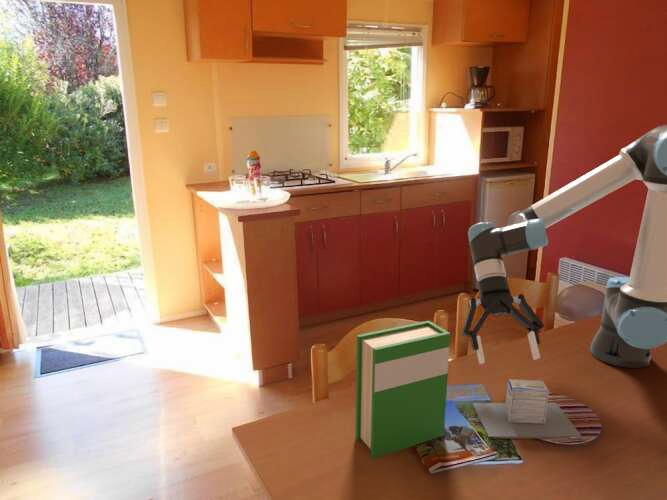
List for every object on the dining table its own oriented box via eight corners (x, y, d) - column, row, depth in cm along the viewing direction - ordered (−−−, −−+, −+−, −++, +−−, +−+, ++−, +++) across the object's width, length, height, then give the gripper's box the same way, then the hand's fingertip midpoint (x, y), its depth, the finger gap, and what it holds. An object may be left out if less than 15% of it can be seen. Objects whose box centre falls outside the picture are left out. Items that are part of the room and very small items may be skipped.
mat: (556, 404, 124) (556, 403, 124) (581, 438, 112) (581, 436, 111) (472, 405, 124) (472, 403, 124) (488, 438, 111) (488, 436, 111)
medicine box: (539, 413, 119) (543, 380, 117) (545, 425, 115) (549, 390, 113) (504, 412, 120) (507, 378, 118) (508, 423, 116) (512, 388, 114)
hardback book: (372, 458, 105) (375, 349, 99) (355, 438, 111) (356, 335, 105) (443, 436, 112) (450, 333, 106) (423, 418, 119) (428, 320, 112)
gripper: (533, 280, 139) (553, 359, 131) (441, 288, 139) (455, 367, 130) (544, 270, 133) (565, 353, 124) (447, 278, 132) (462, 361, 123)
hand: (509, 361), depth 127 cm, fingers open, 13 cm apart
